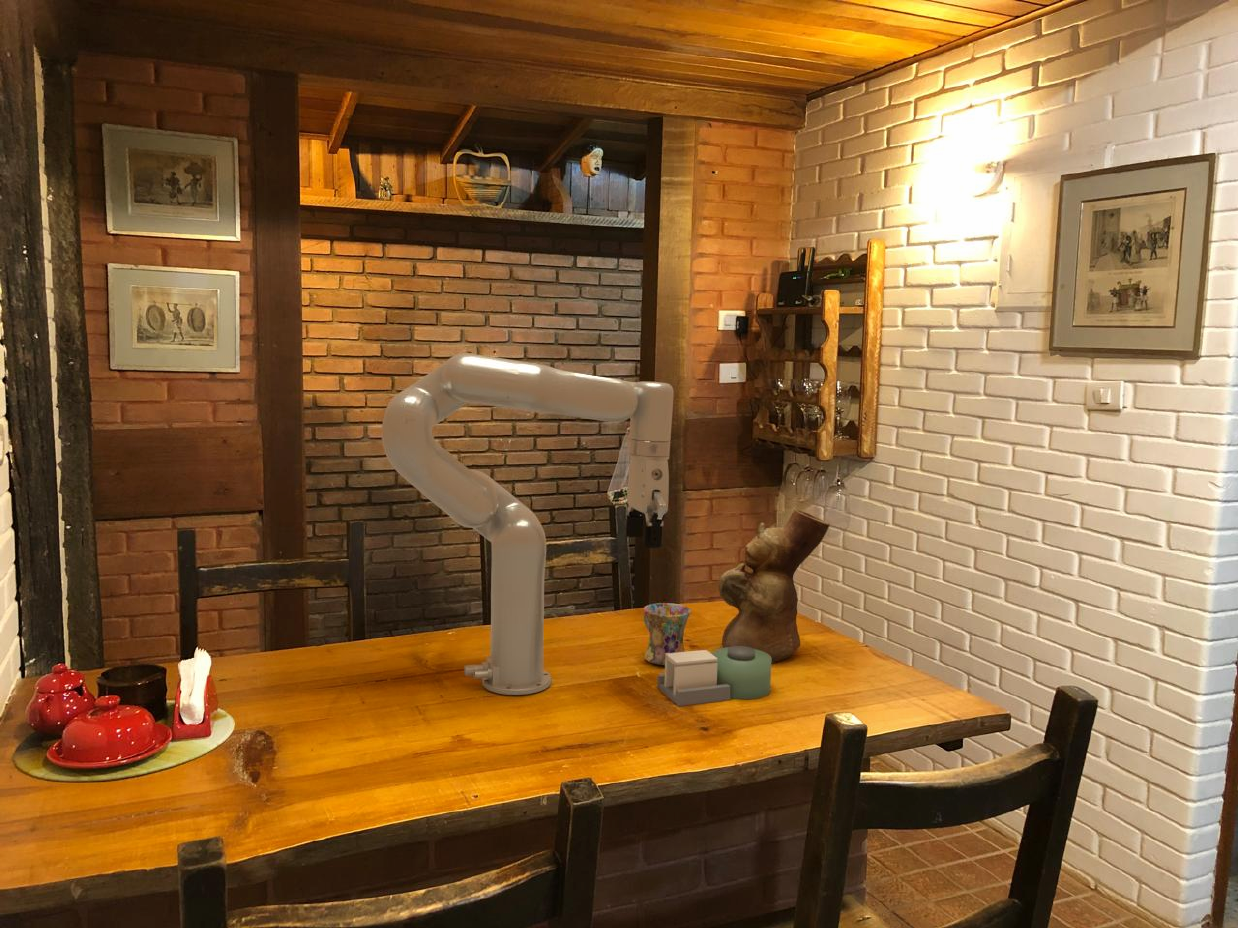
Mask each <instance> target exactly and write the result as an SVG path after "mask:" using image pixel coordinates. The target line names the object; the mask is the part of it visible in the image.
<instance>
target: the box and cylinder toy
mask: <svg viewBox="0 0 1238 928" xmlns="http://www.w3.org/2000/svg"><path fill="white" fill-rule="evenodd" d="M710 653H711V654H712V655H713V656H715V657H716V658H718V664H717V685H715V686H706V687H697V688H689V689H680V690H676V696H675V695H674V694H673V691H674V686H673V687H665V686H664V683H665V673H658V674H657V677H656V678H657V680H656V681H657V683H656V685H657V686H656V687H657V689H658V690H659V691H660V692H661V693H663V695H665V696H666V697H668V698H669V699H670V700H671V702H673V703H674V704H675V705H676V706H677V707H683V706H691V705H700V704H701V705H702V704H707V703H709V704H710V703H716V702H724V701H730V700H731V699H735V700H756V699H761V698H764V697H767V696H768V695H769V694H770V692H771V679H772V663H771V661H772V658H771V656H770V655H769V654H767V653H765V652H763V651H760V650H757V649H753V648H750V647H746V646H732V647H726V648H722V647H721V648H717V649H715V650H713V651H712V652H710Z"/></svg>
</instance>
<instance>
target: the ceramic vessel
mask: <svg viewBox="0 0 1238 928" xmlns="http://www.w3.org/2000/svg"><path fill="white" fill-rule="evenodd" d="M829 527H830V523H829V522H827V521H825V520H823V519H821V518H819V517H817V516H815V515H812V514H811V513H808V512H806V511H803V510H801V509H794V510H793V511H792V513H791V515H790V517H789V519H788V521H787V522H786V523H785V524H784V526H781V527H767V526H766V524H765V523H764V522H761V523H760V524H759V525H758V529H757V535H755V537H754V538H753V539H752V540H751V541H750V542H748V543H747V544H746V545H745V547H744V550H745V553H744V563H740V564H739V565H738V566H736V567H734V568H732V569H729V570H726V571H725V572H723V574H721V576H720V578H719V579H718V592H719V595H720V597H721V599H722V600H723V601H724V603H726V604H728V606H731V607H734V608H736V609H737V610H738V613H737V614H736V615H735V616H734V617H733V618H732V620H730V621H729V623H728V624H727V625H726V627H725V629H723V630H724V631H723V634H722V637H721V648H726V647H732V646H746V647H750V648H753V649H757V650H760V651H763V652H765V653H767V654H769V655H770V656H771V658H772V661H771V664H774V663H778V662H781V661H783V660H786V659H788V658H789V657H791V656H793V655H794V653H795V652H796V651H798V650H799V648H800V647H801V638H800V634H799V631H798V625H797V615H798V601H799V599H798V593H797V588H796V586H795V582H794V575H795V573H796V571H797V569H798V568H799V566H801V565H802V563H804V561H805V560H807V558H808V557H809V556H810V555H811V554H812V553H813V551H814V550H816V548H818V546H819V545H820V544H821V542H822V541H823V539H824V538H825V536H826V534H827V532H828V529H829ZM746 567H747V568H750V569H751V570H752V572H749V571H747V570H746Z"/></svg>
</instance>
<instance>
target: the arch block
mask: <svg viewBox="0 0 1238 928" xmlns="http://www.w3.org/2000/svg"><path fill="white" fill-rule="evenodd" d="M711 653H712V652H710V651H708V650H707V649H700V650H691V651H689V650H688V651H685V652H678V653H667V654H665V666H664V674H665V683H664V686H665V687H673V686H674V691H673V694H674V695H675V696H676V690H680V689H689V688H697V687H706V686H715V685H717V664H718V658H716V657H715V656H713V655H712V654H711Z"/></svg>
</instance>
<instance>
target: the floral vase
mask: <svg viewBox="0 0 1238 928" xmlns="http://www.w3.org/2000/svg"><path fill="white" fill-rule="evenodd" d="M691 612H692V611H691V608H689V607H687V606H685V605H682V604H677V603H672V602H671V603H669V602H667V603H666V602H658V603H651V604H648V605H646V606H644V607H643V622H644V624H645V627H646V628H647V631H648V633H649V640H648V646H647V648H646V651H645V653H644V656H643V657H644V659H645V660H646V661H647V662H649V663H651V664H655V665H658V666H664V667H665V654H667V653H678V652H686V651H685V646H684V645H685V644H684V635H685V634H684V633H685V628H686V625H687V621H688V619H689V618H690V614H691Z"/></svg>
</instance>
